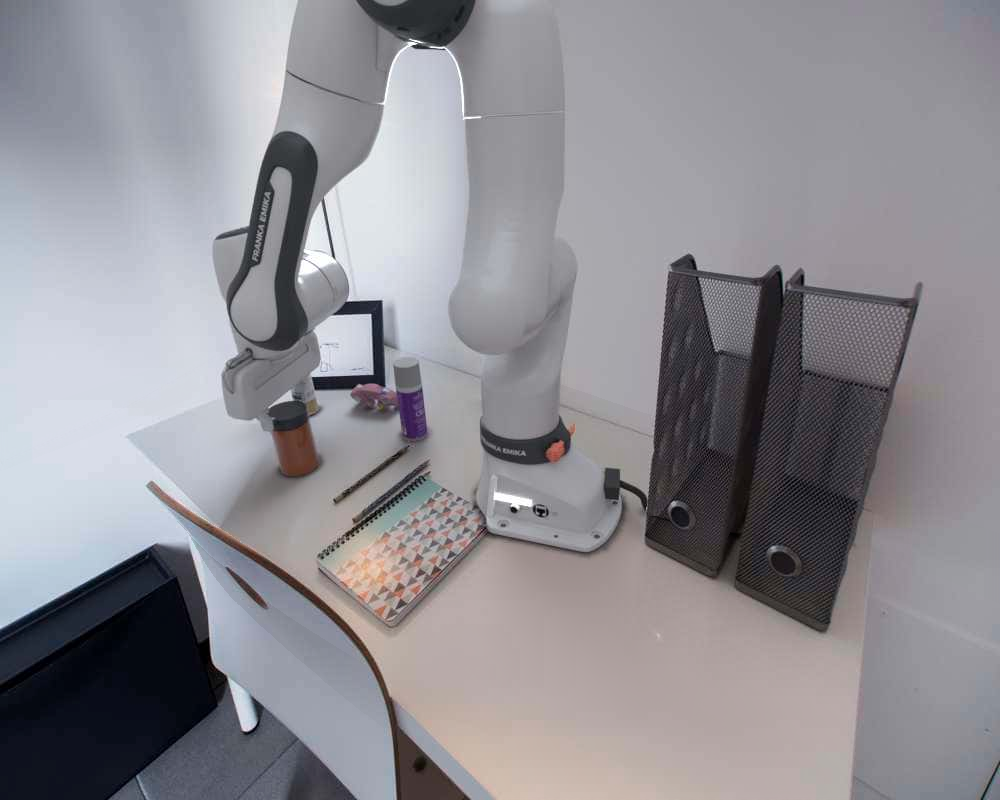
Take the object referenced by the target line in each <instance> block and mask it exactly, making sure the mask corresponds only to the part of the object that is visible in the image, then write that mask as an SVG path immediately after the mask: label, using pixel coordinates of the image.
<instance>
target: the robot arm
mask: <svg viewBox="0 0 1000 800" xmlns="http://www.w3.org/2000/svg"><path fill="white" fill-rule="evenodd" d="M408 47H411V48H412V49H415V50H434V51H435V50H436V51H447V52H448V53H449V54H450V55H451V57H452V59H453V60H454V62H455V65H456V67H457V70H458V75H459V79H460V87H461V88H460V89H461V101H462V103H461V104H462V116H463V131H464V145H465V146H464V147H465V161H466V162H465V163H466V177H467V179H466V180H467V202H466V203H467V204H466V214H465V224H464V232H463V239H462V246H461V247H462V248H461V255H460V262H459V268H458V273H457V277H456V279H455V282H454V286H453V288H452V289H451V292H450V295H449V298H448V302H447V314H448V319H449V320H448V321H449V324H450V326H451V328H452V331H453V332H454V334H455V335H456V337H457V338H458V339H459V341H461V342H462V343H463V344H464V345H465V346H466V347H468V349H470V350H472V351H474V352H476V353H479V354H481V355H484V357H483V361H482V364H481V366H480V377H479V378H480V395H481V416H480V419H479V439H480V445H481V447H482V461H481V473H480V477H479V483H478V486H477V489H476V492H475V502H476V505H477V507H478V509H479V510H480V511H481V513H482V515H483V516H484V517H485V526H486V529H487V531H488V532H489V533H490V534H493V535H498V536H503V537H508V538H513V539H518V540H522V541H526V542H532V543H537V544H541V545H547V546H552V547H556V548H561V549H566V550H571V551H575V552H581V553H591V552H593V551H595V550H597V549H598V548H600V547H602V546H603V545H604V544H605V543H606V542H607V541H608V540H609V539H610V538H611V536H612V535H613V533H614V532H615V530H616V528H617V526H618V524H619V522H620V520H621V516H622V511H623V501H622V497H621V494H620V493H621V489H622V490H626V491H627V492H629V493H631V494H634V495H635V496H636V497H638V498H639V500H640V503H641V507H642V508H643V510H644V511H645V512H646V507H647V500H648V497H647V495H646V494H645V492H643V491H642V490H641V489H640V488H639V487H637V486H635V485H632V484H630V483H628V482H626V481H624V480H622V479H621V469H620V468H615V467H605V468H603V467H602V466H601V465H600V464H598V462H596V461H595V460H594V459H593V458H591V457H590V456H589V455H588V454H587V453H586V452H584V451H583V450H582V449H581V448H580V447H578V446H577V445H576V444H575V443H574V442H572V438H571V437H572V436H573V434H574V433H575V431H576V428H575V427H576V423H573V424H572V425H570V427H569V429H568V428H567V427H566V425H565V423H564V421H563V418H562V417H561V414H560V405H561V403H560V402H561V400H560V399H561V380H562V379H561V377H562V367H563V360H564V355H565V351H566V344H567V339H568V334H569V333H568V332H569V327H570V321H571V313H572V305H573V297H574V290H575V286H576V281H577V276H578V260H577V256H576V254H575V251H574V250H573V248H572V246H570V244H569V243H568V242H567V240H564V238H562V237H561V236H558V235H557V234H556V233H555V231H556V226H557V220H558V215H559V210H560V205H561V202H562V198H563V195H564V191H565V149H566V146H565V145H566V143H565V142H566V140H565V135H566V129H565V128H566V112H564V111H566V97H565V96H566V95H565V94H566V93H565V91H566V90H565V75H564V74H565V73H564V72H565V71H564V61H563V53H562V45H561V37H560V31H559V25H558V20H557V15H556V12H555V9H554V7H553V5H552V3H551V2H550V0H297V3H296V7H295V11H294V14H293V20H292V24H291V29H290V33H289V40H288V45H287V53H286V62H285V71H284V81H283V88H282V93H281V99H280V104H279V109H278V113H277V117H276V121H275V126H274V129H273V132H272V134H271V137H270V140H269V143H268V144H267V147H266V150H265V153H264V155H263V158H262V161H261V165H260V167H259V168H260V169H259V172H258V176H257V181H256V186H255V190H254V197H253V202H252V207H251V213H250V217H249V222H248V223H249V224H248V225H247V226H242V227H240V228H235V229H231V230H228V231H226V232H221V233H220V234H218V235H217V236H216V237H215V238H214V239H213V241H212V248H211V249H212V250H211V251H212V262H213V267H214V271H215V277H216V281H217V285H218V289H219V292H220V295H221V297H222V299H223V301H224V303H225V304H226V312H227V315H228V323H229V326H230V330H231V333H232V337H233V341H234V343H235V347H236V351H237V355H236V356H234V357H232V358H230V359H228V360H227V361H226V362H225V366H224V368H223V370H222V372H221V374H220V375H221V389H222V397H223V401H224V405H225V410H226V414H227V415H228V416H229V417H230V418H231V419H233V420H238V421H247V422H251V421H253V420H255V419H256V420H257V421H258V422H260V426H261V429H262V431H264V432H269V433H270V432H271V431H272V430H274V429H275V428H276V427H277V423H276V418H274V417H269V416H268V415H267V413H269V408H270V407H272V406H273V404H274V403H276V402H277V401H278V400H280V398H282V397H283V396H284V395H285V394H287V393H288V392H289V391H291V388H293V387H294V393H293V394H292V393H291V398H292V401H300V402H303V403H304V402H305V401H306V400H307V395H306V389H307V383H308V378H307V375H309V374H310V373H312V372H314V371H315V370H317V368H319V366H320V364H321V360H322V359H321V358H322V357H321V356H322V355H321V348H320V344H319V340H318V336H317V334H316V332H315V330H316V327H317V326H319V325H320V324H322V323H324V322H325V321H326V320H327V319H328V318H330V317H331V316H332V315H334V314H336V312H338V311H340V309H341V308H342V307H344V305H345V304H346V303H347V301H348V298H349V294H350V284H349V279H348V277H347V274H346V272H345V269H344V268H343V266H342V265H341V264H340V262H339V261H338V260H337V259H336V258H335V257H334V256H332V255H330V254H329V253H327V252H326V251H325V252H324V251H321V250H316V249H315V250H314V249H313V250H312V249H309V248H306V244H307V240H308V236H309V231H310V227H311V222H312V219H313V217H314V214H315V212H316V210H317V209H318V207H319V205H320V204H321V202H322V201H323V200H324V198H325V197H326V196H327V195H328V193H329V192H331V190H333V188H335V186H337V185H338V184H339V183H340V182H341V181H342V180H343V179H344V178H347V176H348V175H350V174H352V173H353V172H354V171H355V170H356V169H358V168H359V167H360V166H361V165H363V164H364V163H365V162H366V161H367V159H368V158H369V156H370V155H371V152H372V150H373V148H374V146H375V143H376V140H377V137H378V136H379V132H380V129H381V125H382V121H383V117H384V111H385V105H386V100H387V95H388V89H389V82H390V78H391V73H392V70H393V66H394V64H395V62H396V59H397V58H398V56H399V55H400V53H402V52H403V51H404V50H405V49H407V48H408ZM736 535H742V534H741V531H739V532H738V533H737V534H736Z"/></svg>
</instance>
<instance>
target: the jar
mask: <svg viewBox="0 0 1000 800" xmlns="http://www.w3.org/2000/svg"><path fill="white" fill-rule="evenodd" d="M269 433H270V437H271V440H272V444H273V447H274V450H275V454H276V457H277V461H278V465H279V469H280V471H281V473H282V474H283V475H285V476H288V477H301V476H304V475H307V474H309V473H311V472H314V471H315V470H316V469H317V468H318V467H319V465H320V461H321V460H320V456H319V453H318V449H317V445H316V439H315V436H314V432H313V427H312V423H311V419H310V418H309V419H308V420H307V422H306V423H304V424H303V425H301V426H299V427H297V428H294V429H291V430H284V431H278V430H272V431H271V432H269Z"/></svg>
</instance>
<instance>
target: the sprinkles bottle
mask: <svg viewBox="0 0 1000 800" xmlns="http://www.w3.org/2000/svg"><path fill="white" fill-rule="evenodd" d="M311 373H312V372H311ZM311 373H310V374H309V375H307V378H308V383H307V389H306V395H307V400H306V401H305V402H304V403H305V404H306V406H307V410H308V414H309V417H310V416H313V415H315V414H317V412H319V409H320V407H319V405H318V401H317V397H316V391H315V386H314V382H313V377H312V374H311ZM293 393H294V387H293V388H291V389H290V394H291V395H292V394H293Z"/></svg>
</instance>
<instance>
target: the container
mask: <svg viewBox="0 0 1000 800" xmlns="http://www.w3.org/2000/svg"><path fill="white" fill-rule="evenodd" d="M392 367H393V377H394V384H395V392H396V393H397V400H398V406H397V407H398V413H399V420H400V427H401V435H402V438H403V439H404V440H406V441H408V442H417V441H421V440H423V439H425V438H426V437H427V436H428V426H427V417H426V416H427V415H426V408H425V397H424V390H423V389H424V388H423V382H422V375H421V368H420V362H419V359H418V358H416V357H413V356H404V357H403V356H402V357H399V358H397V359H395V360H394V361H393V362H392Z"/></svg>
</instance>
